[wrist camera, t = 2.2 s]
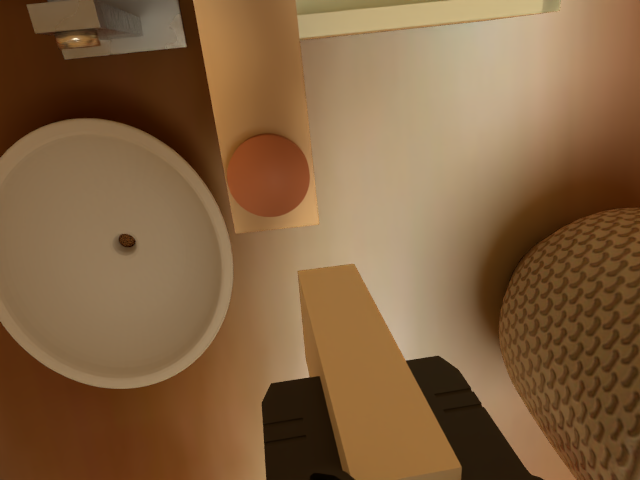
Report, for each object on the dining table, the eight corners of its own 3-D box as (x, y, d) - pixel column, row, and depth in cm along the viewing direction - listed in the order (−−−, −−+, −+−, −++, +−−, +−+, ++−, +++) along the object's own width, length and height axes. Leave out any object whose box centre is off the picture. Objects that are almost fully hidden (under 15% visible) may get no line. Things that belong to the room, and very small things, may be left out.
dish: (-23, 112, 28) (-71, 124, 24) (220, 104, 31) (219, 113, 26) (46, 357, 35) (18, 403, 30) (241, 335, 37) (243, 375, 33)
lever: (-56, 243, 25) (-145, 294, 20) (-248, -193, 18) (-463, -289, 13) (352, 198, 25) (368, 236, 20) (318, -249, 18) (329, -365, 13)
